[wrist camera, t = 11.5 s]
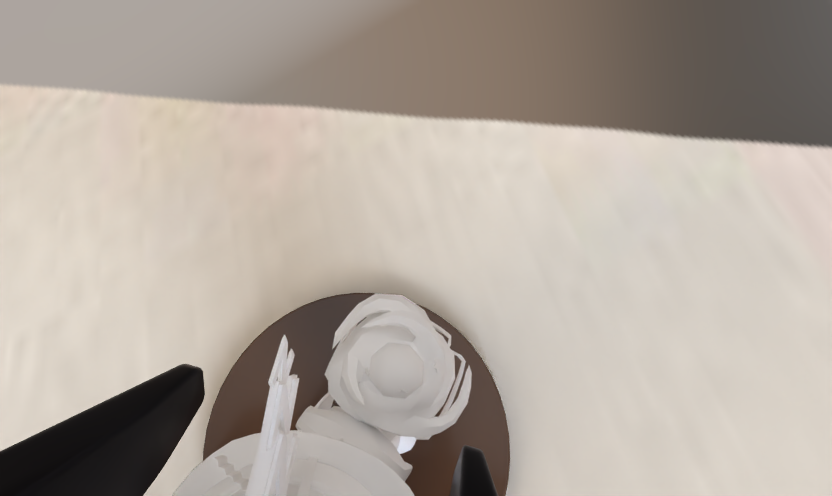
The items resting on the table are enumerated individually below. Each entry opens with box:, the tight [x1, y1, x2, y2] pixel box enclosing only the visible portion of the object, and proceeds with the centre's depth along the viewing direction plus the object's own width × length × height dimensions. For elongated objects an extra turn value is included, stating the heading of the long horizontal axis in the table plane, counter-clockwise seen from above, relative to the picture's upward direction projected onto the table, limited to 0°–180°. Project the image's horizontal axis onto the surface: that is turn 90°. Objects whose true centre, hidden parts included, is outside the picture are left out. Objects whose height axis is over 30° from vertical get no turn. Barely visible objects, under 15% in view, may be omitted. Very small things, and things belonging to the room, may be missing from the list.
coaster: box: [203, 293, 510, 496], centre depth 16 cm, size 11×11×1 cm
